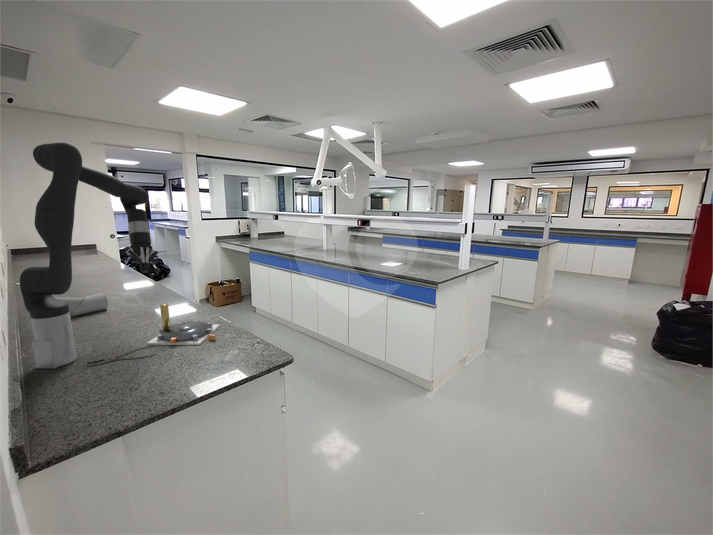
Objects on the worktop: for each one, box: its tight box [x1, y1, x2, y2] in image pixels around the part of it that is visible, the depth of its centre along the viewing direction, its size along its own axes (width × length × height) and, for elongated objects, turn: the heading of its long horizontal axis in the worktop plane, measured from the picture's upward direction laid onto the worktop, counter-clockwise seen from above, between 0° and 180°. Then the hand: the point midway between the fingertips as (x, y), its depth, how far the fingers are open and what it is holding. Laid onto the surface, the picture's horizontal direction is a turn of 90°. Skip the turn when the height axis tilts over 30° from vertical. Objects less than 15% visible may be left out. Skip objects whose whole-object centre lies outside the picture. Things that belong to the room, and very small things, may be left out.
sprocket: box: [156, 303, 213, 343], centre depth 128 cm, size 21×21×12 cm
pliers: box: [86, 345, 157, 368], centre depth 108 cm, size 10×1×20 cm
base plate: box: [147, 323, 221, 346], centre depth 129 cm, size 20×24×2 cm
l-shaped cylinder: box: [53, 293, 109, 318], centre depth 151 cm, size 18×11×20 cm
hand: (144, 272), depth 132 cm, fingers closed
